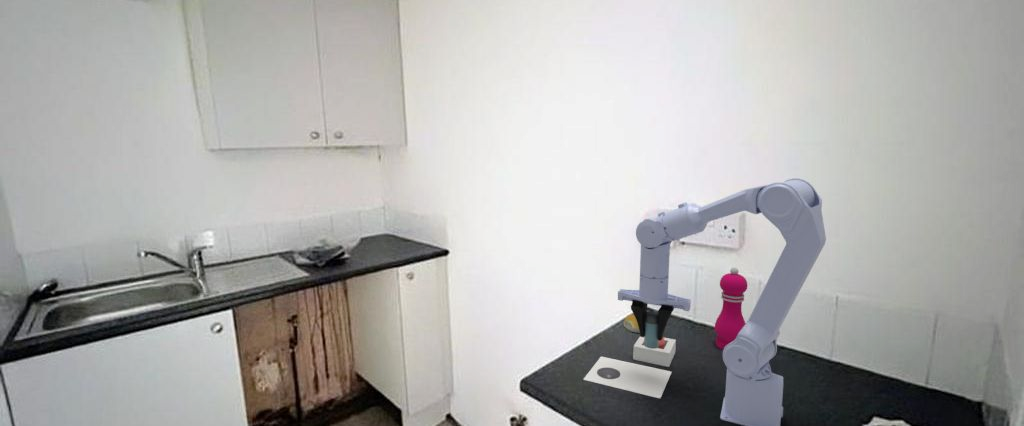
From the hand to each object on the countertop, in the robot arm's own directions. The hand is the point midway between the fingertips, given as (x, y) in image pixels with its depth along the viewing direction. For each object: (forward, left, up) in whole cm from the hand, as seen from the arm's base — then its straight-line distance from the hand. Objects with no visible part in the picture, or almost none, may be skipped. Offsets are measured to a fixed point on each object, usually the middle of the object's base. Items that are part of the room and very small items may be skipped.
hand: (651, 337), depth 100 cm
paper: (+4, +2, -9) cm, 10 cm away
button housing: (+1, -10, -9) cm, 14 cm away
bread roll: (+8, -26, -10) cm, 29 cm away
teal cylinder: (0, 0, -2) cm, 2 cm away
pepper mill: (-14, -24, -10) cm, 29 cm away
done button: (+1, -10, -7) cm, 12 cm away
